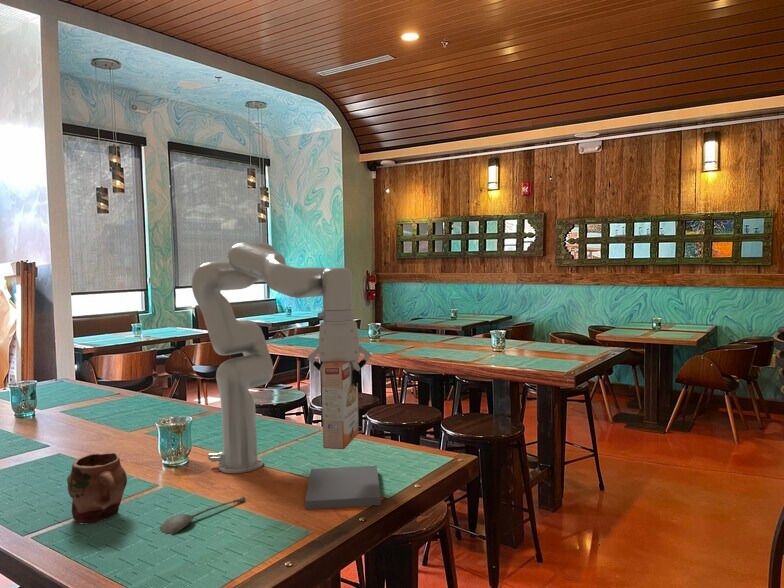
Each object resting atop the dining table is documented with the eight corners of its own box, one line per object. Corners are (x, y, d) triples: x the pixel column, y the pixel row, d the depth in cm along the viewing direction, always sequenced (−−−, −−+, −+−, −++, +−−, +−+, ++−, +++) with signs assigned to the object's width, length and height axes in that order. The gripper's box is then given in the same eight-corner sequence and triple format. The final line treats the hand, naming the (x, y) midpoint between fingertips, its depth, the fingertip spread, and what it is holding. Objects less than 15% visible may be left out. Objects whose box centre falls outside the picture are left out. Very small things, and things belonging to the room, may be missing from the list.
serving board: (305, 509, 139) (304, 501, 139) (311, 476, 161) (310, 468, 161) (381, 505, 140) (380, 496, 140) (376, 472, 162) (376, 465, 162)
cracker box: (346, 450, 143) (343, 364, 142) (322, 449, 144) (319, 364, 143) (360, 433, 156) (357, 355, 155) (338, 433, 158) (336, 355, 156)
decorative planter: (146, 519, 136) (143, 460, 136) (92, 539, 127) (89, 475, 126) (105, 499, 149) (102, 445, 148) (54, 516, 139) (50, 458, 139)
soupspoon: (153, 534, 131) (168, 543, 127) (152, 519, 131) (167, 529, 126) (237, 498, 148) (252, 506, 143) (236, 486, 147) (252, 493, 143)
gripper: (302, 319, 144) (305, 391, 145) (373, 316, 145) (375, 388, 146) (304, 316, 152) (307, 384, 153) (372, 314, 153) (374, 382, 154)
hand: (340, 385), depth 149 cm, fingers closed on cracker box, 7 cm apart
